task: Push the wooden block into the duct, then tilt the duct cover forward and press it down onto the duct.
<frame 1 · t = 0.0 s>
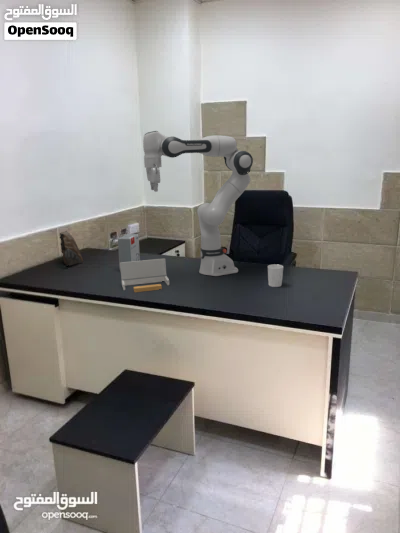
hand: (154, 190, 221), 48 cm above the table, fingers open, 8 cm apart
owl: (72, 263, 270), on the table
wooden block: (147, 290, 214), on the table
hard drive box: (130, 268, 253), on the table
white cup: (275, 285, 217), on the table
duct cover: (143, 268, 223), point 8 cm above the table, hinge at 95.0°
duct: (145, 285, 221), on the table
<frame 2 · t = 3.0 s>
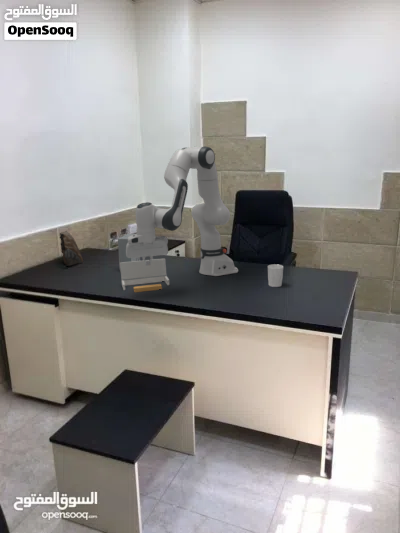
hand: (147, 265, 204), 15 cm above the table, fingers closed
nothing on the table moved.
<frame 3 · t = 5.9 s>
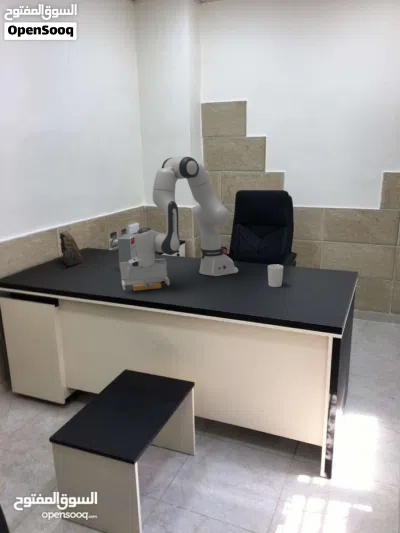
hand: (147, 286, 214), 2 cm above the table, fingers closed
wooden block: (147, 288, 217), on the table, touching gripper
everything else where it was.
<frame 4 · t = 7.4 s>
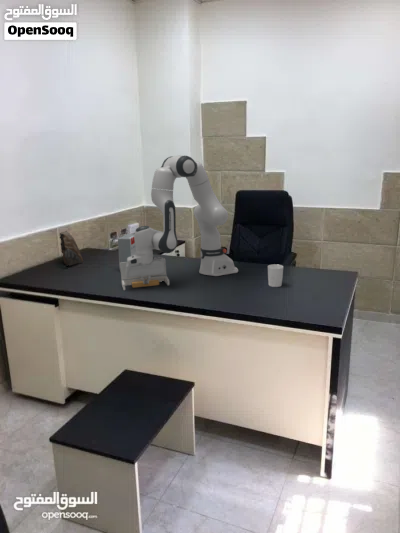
hand: (146, 283, 219), 2 cm above the table, fingers closed
wooden block: (145, 286, 221), on the table
everything else where it was.
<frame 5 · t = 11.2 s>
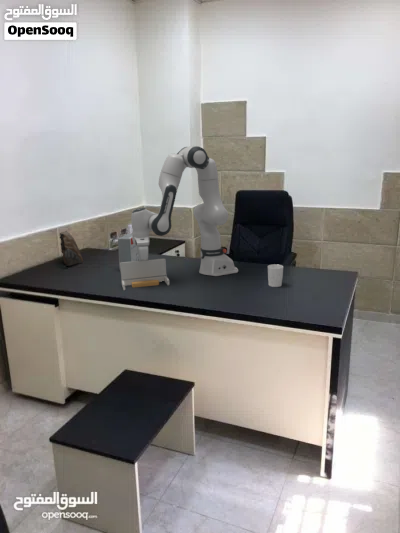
hand: (142, 264, 225), 10 cm above the table, fingers closed
duct cover: (143, 268, 223), point 8 cm above the table, hinge at 92.7°, touching gripper
everything else where it was.
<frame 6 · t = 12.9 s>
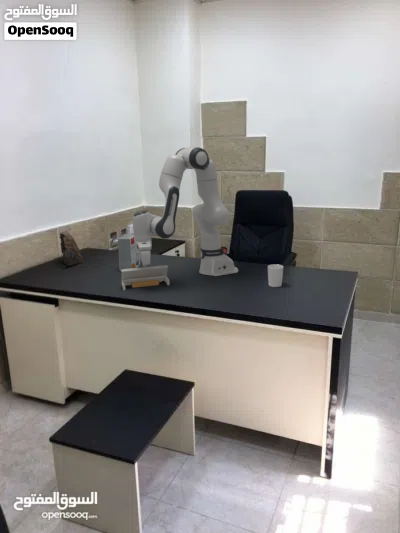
hand: (145, 268, 219), 9 cm above the table, fingers closed
duct cover: (144, 272, 220), point 7 cm above the table, hinge at 46.2°, touching gripper
everything else where it was.
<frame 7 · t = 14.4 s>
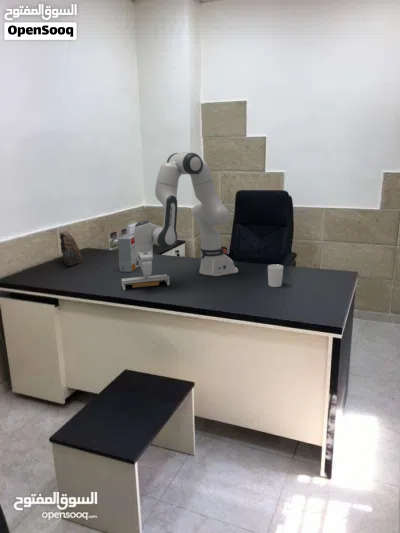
hand: (145, 279, 217), 4 cm above the table, fingers closed, pressing on duct cover
duct cover: (145, 278, 219), point 4 cm above the table, hinge at 4.6°, touching gripper
everything else where it was.
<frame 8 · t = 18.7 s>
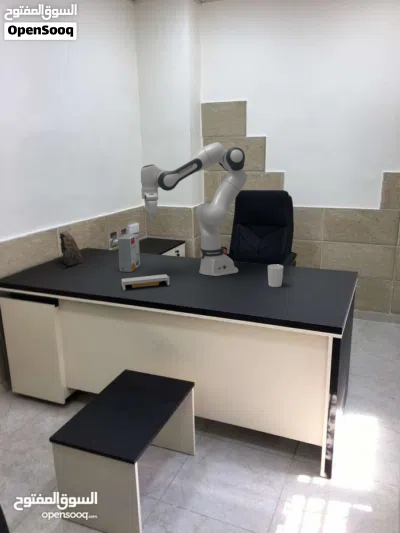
hand: (151, 220, 233), 31 cm above the table, fingers closed
duct cover: (145, 278, 219), point 4 cm above the table, hinge at 1.9°
everything else where it was.
at the end: duct cover at +2° (first picture: +95°); wooden block inside the target area on the duct (0.5 cm from its centre), point 0.0 cm above the duct's base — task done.
